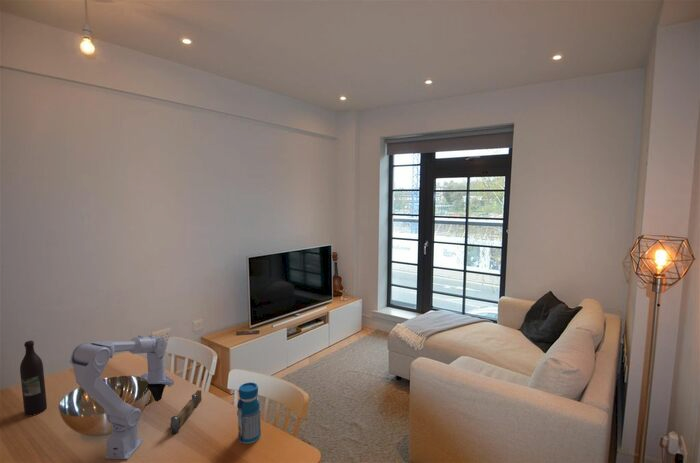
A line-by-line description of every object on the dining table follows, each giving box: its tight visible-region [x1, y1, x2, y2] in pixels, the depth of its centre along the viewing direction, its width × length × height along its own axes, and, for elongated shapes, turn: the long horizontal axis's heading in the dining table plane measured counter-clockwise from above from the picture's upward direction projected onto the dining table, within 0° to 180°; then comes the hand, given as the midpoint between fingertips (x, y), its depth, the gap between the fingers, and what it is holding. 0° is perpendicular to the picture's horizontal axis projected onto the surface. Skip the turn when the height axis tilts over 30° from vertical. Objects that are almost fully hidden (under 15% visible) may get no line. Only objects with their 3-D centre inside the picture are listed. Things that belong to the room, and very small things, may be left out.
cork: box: [137, 377, 155, 405], centre depth 158 cm, size 6×6×11 cm
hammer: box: [169, 389, 202, 436], centre depth 148 cm, size 22×4×6 cm, turn 178°
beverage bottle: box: [236, 382, 262, 445], centre depth 135 cm, size 8×8×20 cm
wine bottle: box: [19, 340, 48, 416], centre depth 149 cm, size 7×7×30 cm
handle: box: [176, 398, 196, 429], centre depth 146 cm, size 13×2×5 cm, turn 177°
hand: (158, 399), depth 143 cm, fingers closed
